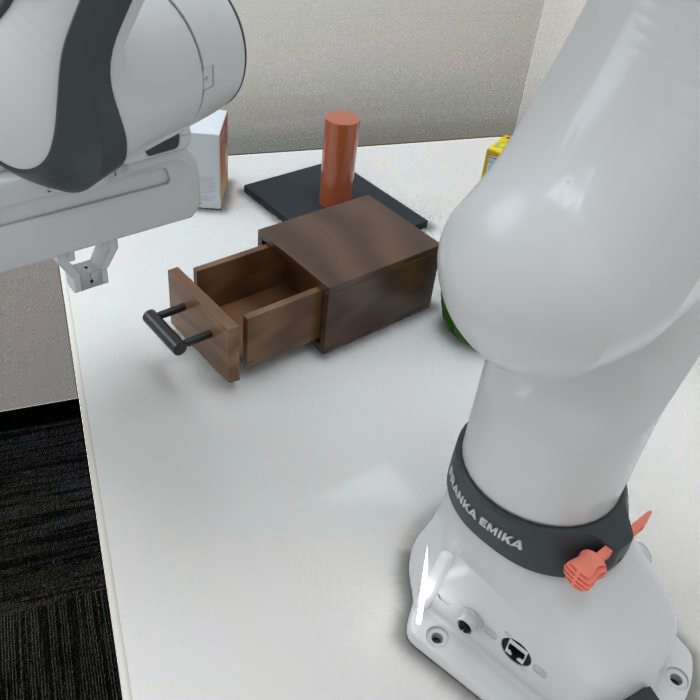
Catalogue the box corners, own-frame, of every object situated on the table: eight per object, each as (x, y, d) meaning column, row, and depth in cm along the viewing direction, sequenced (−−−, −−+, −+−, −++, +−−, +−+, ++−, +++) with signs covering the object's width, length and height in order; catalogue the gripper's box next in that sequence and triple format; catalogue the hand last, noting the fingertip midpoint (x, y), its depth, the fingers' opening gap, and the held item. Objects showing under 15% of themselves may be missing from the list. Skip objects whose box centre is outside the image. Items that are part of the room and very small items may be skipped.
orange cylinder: (357, 205, 104) (367, 120, 97) (332, 213, 102) (339, 127, 94) (337, 191, 107) (345, 107, 99) (312, 199, 104) (318, 114, 97)
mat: (427, 227, 104) (428, 220, 103) (333, 261, 95) (334, 254, 95) (335, 165, 115) (335, 159, 114) (243, 191, 106) (243, 184, 106)
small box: (221, 210, 102) (220, 135, 95) (178, 206, 102) (174, 131, 95) (229, 181, 108) (228, 109, 101) (188, 178, 108) (185, 105, 101)
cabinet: (323, 354, 82) (329, 288, 76) (256, 294, 89) (257, 229, 83) (429, 307, 90) (442, 244, 84) (360, 255, 97) (368, 194, 91)
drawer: (189, 401, 73) (186, 346, 69) (132, 337, 79) (126, 283, 75) (344, 334, 83) (350, 282, 79) (283, 281, 89) (285, 231, 85)
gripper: (-70, 183, 49) (-25, 347, 58) (209, 122, 60) (210, 268, 69) (-100, 143, 53) (-53, 303, 62) (168, 92, 64) (175, 235, 73)
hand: (88, 284), depth 66 cm, fingers closed
